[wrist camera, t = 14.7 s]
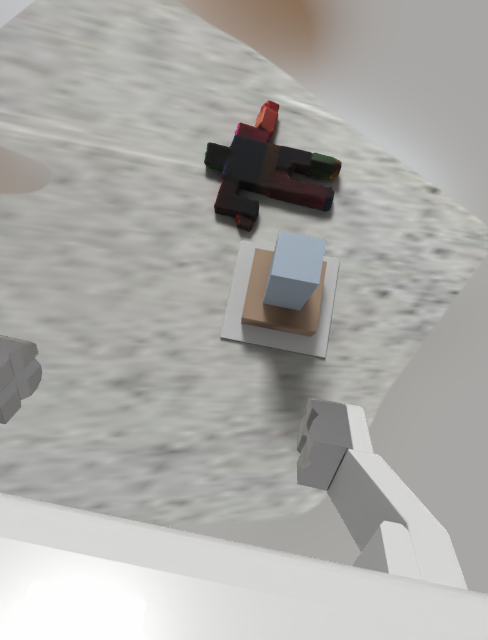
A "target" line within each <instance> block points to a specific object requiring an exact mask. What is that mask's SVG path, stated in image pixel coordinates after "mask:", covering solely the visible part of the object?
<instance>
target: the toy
mask: <svg viewBox="0 0 488 640" xmlns="http://www.w3.org/2000/svg"><path fill="white" fill-rule="evenodd" d="M278 110H279V104H276V103H275V102H272V101H267V102H266V103H265V104H264V105H263V106H262V107H261V111H260V113H259V115H258V117H257V120H256V125H255V127H253V126H250V125H247V124H243V123H239V124H238V127H237V130H236V131H235V136H234V139H233V142H232V144H231V146H230V147H226V146H222V145H218V144H215V143H210V142H209V143H208V144H207V151H206V153H205V161H204V163H205V165H206V166H207V167H209V168H213V169H219V170H223V174H222V183H221V186H220V189H219V192H218V196H217V199H216V202H215V205H214V208H215V212H216V213H218V214H221V215H226V216H231V217H234V218H236V222H237V227H238V228H241V229H244V230H247V231H248V232H250V231H251V229H252V227H253V223H254V222H255V220H256V218H257V215H258V212H259V202H258V201H252V200H248V199H244V198H239V197H237V194H238V192H239V190H240V189H244V190H248V191H253V192H256V193H259V194H264V195H267V196H269V197H270V198H274V199H278V200H283V201H286V202H291V203H295V204H299V205H303V206H308V207H311V208H317V209H321V210H324V211H329V209H330V207H331V204H332V201H333V197H334V191H333V190H332V188H331V187H330V188H328V187H324V186H322V185H317V184H312V183H308V182H304V183H303V182H300V181H297V180H292V179H290V178H289V177H290V175H291V173H292V171H295V172H298V173H301V174H307V175H309V176H314V177H316V178H323V179H335V178H338V175H339V172H340V169H341V162H340V161H339V160H337V159H335V158H333V157H330V156H325V155H321V154H318V153H311V152H307V151H303V150H299V149H294V148H290V147H285V146H279V145H275V144H270V143H269V140H270V138H271V136H272V134H273V132H274V128H275V123H276V120H277V118H278Z"/></svg>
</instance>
